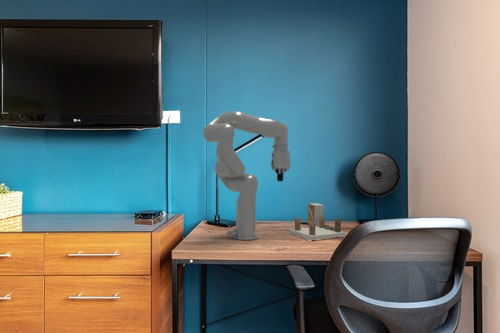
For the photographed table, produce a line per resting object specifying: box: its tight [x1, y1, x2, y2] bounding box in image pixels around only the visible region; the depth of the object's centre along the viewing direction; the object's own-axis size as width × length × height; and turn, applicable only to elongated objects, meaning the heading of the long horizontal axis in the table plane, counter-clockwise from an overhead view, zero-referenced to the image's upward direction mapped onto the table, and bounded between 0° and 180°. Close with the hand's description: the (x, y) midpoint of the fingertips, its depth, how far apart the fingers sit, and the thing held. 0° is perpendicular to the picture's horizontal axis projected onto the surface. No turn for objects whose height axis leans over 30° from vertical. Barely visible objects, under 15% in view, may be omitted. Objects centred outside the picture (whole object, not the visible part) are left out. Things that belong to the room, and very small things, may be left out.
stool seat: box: [289, 215, 346, 241], centre depth 177 cm, size 22×18×8 cm
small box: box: [307, 202, 325, 226], centre depth 203 cm, size 8×6×13 cm
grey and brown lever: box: [324, 218, 342, 232], centre depth 179 cm, size 11×3×6 cm, turn 31°
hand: (280, 181), depth 188 cm, fingers closed
